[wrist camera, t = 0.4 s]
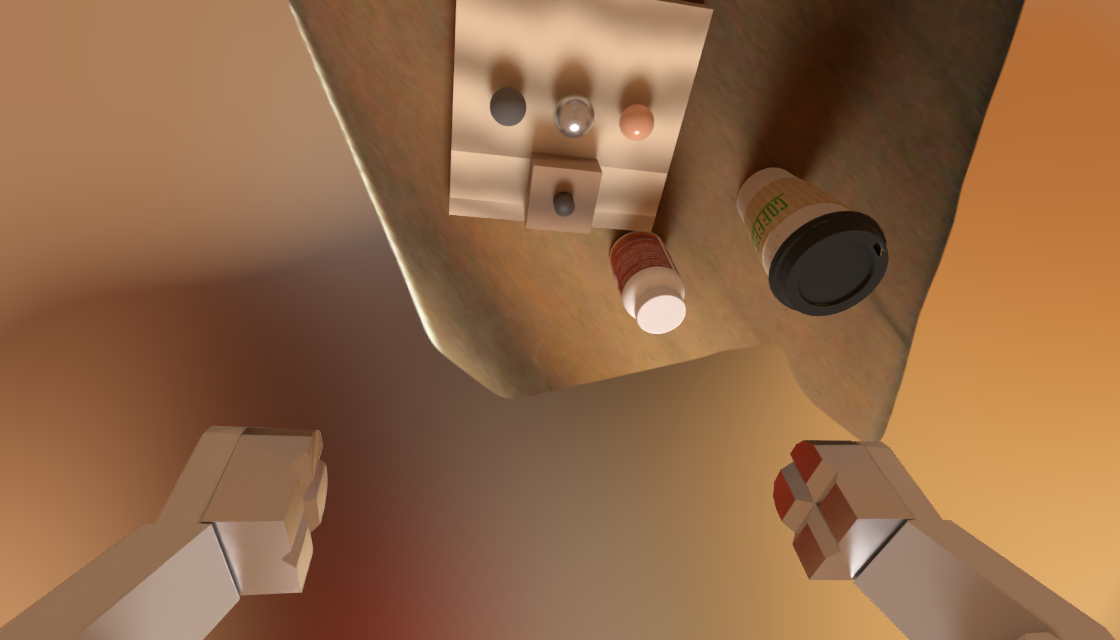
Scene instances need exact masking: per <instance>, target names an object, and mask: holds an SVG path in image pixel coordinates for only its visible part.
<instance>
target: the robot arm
mask: <svg viewBox="0 0 1120 640" xmlns="http://www.w3.org/2000/svg"><path fill="white" fill-rule="evenodd" d="M322 446H323V444H322V439H321V434H320V431H316V430H298V429H276V428H254V427H222V426H211V427H210V428H209V429H208V430H207V431H206V432H205V433H204V434H203V435H202V436H201V438H200V440H199V442H198V444H197V445H196V448H195V449H194V451H193V453H192V455H191V457H190V459H189V461H188V462H187V464H186V466H185V468H184V470H183V472H182V474H181V476H180V477H179V479H178V481H177V483H176V485H175V487H174V489H173V490H172V492H171V494H170V496H169V498H168V500H167V502H166V504H165V505H164V507H163V509H162V511H161V513H160V515H159V517H158V519H157V520H156V522H155V524H142V525H141V526H139V527H138V528H137V529H135V530H134V531H133V532H131V533H130V534H128V535H127V536H126V537H124V538H123V539H122V540H120V541H119V542H117V543H116V544H115V545H113V546H112V547H111V548H109V549H108V550H106V551H105V552H104V553H102V554H101V555H100V556H98V557H97V558H96V559H94V560H93V561H92V562H90V563H89V564H87V565H86V566H85V567H83V568H82V569H80V570H79V571H78V572H77V573H75V574H74V575H72V576H71V577H70V578H68V579H67V580H65V581H64V582H63V583H61V584H60V585H59V586H57V587H56V588H54V589H53V590H52V591H50V592H49V593H48V594H47V595H45V596H44V597H42V598H41V599H39V600H38V601H37V602H35V603H34V604H33V605H31V606H30V607H29V608H27V609H26V610H24V611H23V612H22V613H20V614H19V615H18V616H16V617H15V618H13V619H12V620H11V621H9V622H8V623H7V624H5V625H4V626H2V627H1V628H0V640H203V639H204V638H205V637H206V636H207V634H209V632H210V631H211V630H212V629H213V628H214V627H215V626H216V625H217V624H218V623H219V621H220V620H221V619H222V618H223V617H224V616H225V615H226V614H227V613H228V612H229V610H230V609H231V608H232V607H233V606H234V605H235V604H236V603H237V602H238V600H239V599H240V598H239V595H257V594H275V593H296V592H302V589H303V585H304V582H305V578H306V574H307V570H308V567H309V564H310V560H311V556H312V552H313V546H312V541H311V536H310V533H311V532H312V531H313V530H314V529H315V528H316V527H317V526H318V525H319V524H320V523H321V519H322V515H323V511H324V507H325V499H326V492H327V470H326V464H325V463H324V462H322V461H321V460H320V459H319V457H320V454H321V450H322ZM790 455H791V458H792V460H793V462H792V463H790V464H789V465H787V466H786V467H784V468H783V469H781V470H780V472H779V474H778V476H777V478H776V480H775V481H774V492H773V493H774V494H773V498H774V502H775V506H776V510H777V512H778V514H779V516H780V518H781V521H782V522H783V523H784V524H785V525H787V526H788V527H789V528H790V529H791V530H792V531H794V532H795V534H794V539H793V547H794V549H795V551H796V553H797V555H798V557H799V559H800V561H801V563H802V566H803V568H804V570H805V572H806V574H807V576H808V578H809V580H855V581H854V582H853V583H854V584H855V585H856V586H857V587H858V588H859V589H860V590H861V591H862V592H863V593H864V594H865V595H866V596H867V597H868V598H869V599H870V600H871V601H872V602H873V603H874V604H875V605H876V606H877V607H878V608H879V609H880V610H881V611H882V612H883V613H884V614H885V615H886V616H887V617H888V618H889V619H890V620H891V621H892V622H893V623H894V624H895V625H896V626H897V627H898V628H899V629H900V630H901V631H902V633H904V634H905V635H906V637H907V638H909V640H1115V639H1114V638H1113V636H1112V635H1111V634H1110V633H1109V632H1108V631H1107V629H1106V628H1105V627H1103V626H1102V625H1100V624H1099V623H1098V622H1096V621H1095V620H1093V619H1092V618H1090V617H1089V616H1088V615H1086V614H1085V613H1083V612H1081V611H1080V610H1079V609H1077V608H1076V607H1074V606H1073V605H1072V604H1070V603H1069V602H1067V601H1066V600H1064V599H1063V598H1061V597H1060V596H1059V595H1057V594H1056V593H1054V592H1053V591H1051V590H1050V589H1049V588H1047V587H1046V586H1044V585H1043V584H1041V583H1040V582H1039V581H1037V580H1036V579H1034V578H1033V577H1031V576H1030V575H1028V574H1027V573H1026V572H1024V571H1023V570H1021V569H1020V568H1018V567H1017V566H1015V565H1014V564H1013V563H1011V562H1010V561H1008V560H1007V559H1006V558H1004V557H1003V556H1001V555H1000V554H998V553H997V552H995V551H994V550H993V549H991V548H990V547H988V546H987V545H985V544H984V543H983V542H981V541H980V540H978V539H977V538H975V537H974V536H972V535H971V534H969V533H968V532H967V531H965V530H964V529H962V528H961V527H959V526H958V525H957V524H955V523H953V522H952V521H951V520H942V518H941V517H940V515H939V514H938V513H937V511H936V510H935V509H934V507H933V506H932V505H931V503H930V502H929V500H928V499H927V498H926V496H925V495H924V494H923V492H922V491H921V490H920V488H919V487H918V486H917V484H916V483H915V481H914V480H913V479H912V477H911V476H910V475H909V473H908V472H907V470H906V469H905V468H904V466H903V465H902V464H901V462H900V461H899V459H898V458H897V457H896V455H895V454H894V453H893V451H892V450H891V449H890V448H889V447H888V446H887V445H885V444H884V443H882V442H866V441H854V442H852V441H819V440H816V441H815V440H804V441H801V442H800V443H798V444H796V445H795V447H794V449H793V450H792V452H791V453H790Z"/></svg>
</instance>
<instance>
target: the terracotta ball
mask: <svg viewBox="0 0 1120 640" xmlns="http://www.w3.org/2000/svg"><path fill="white" fill-rule="evenodd" d="M619 127H620V131H621V133H622V134H623V135H624V137H626V138H627V139H629V140H631V141H641V140H643V139H645V138H647V137H648V136H649V135H650V134H651V132H652V130H653V128H654V116H653V113H652V112H651V110H650V109H649V108H648V107H646V106H645V105H642V104H633V105H630V106H629V107H627V108H626V109H625V110H624V111H623V112H622V114H621V116H620V119H619Z"/></svg>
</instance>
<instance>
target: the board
mask: <svg viewBox="0 0 1120 640" xmlns="http://www.w3.org/2000/svg"><path fill="white" fill-rule="evenodd" d="M712 13H713V9H712V8H710V7H708V6H706V5H704V4H699V3H693V2H687V1H681V0H456V28H455V57H454V87H453V116H452V146H451V175H450V205H449V214H450V215H461V216H472V217H484V218H495V219H507V220H518V221H525V217H524V210H525V202H526V193H527V185H528V177H529V169H530V161H531V153H532V152H536V153H545V154H554V155H563V156H573V157H582V158H591V159H597V160H598V162H599V165H600V167H601V170H602V172H603V173H602V178H601V183H600V188H599V192H598V197H597V202H596V207H595V212H594V217H593V221H592V226H591V227H598V228H609V229H621V230H632V231H643V232H651V231H652V227H653V224H654V220H655V217H656V213H657V210H658V206H659V202H660V199H661V195H662V192H663V188H664V185H665V181H666V177H667V174H668V170H669V167H670V163H671V160H672V156H673V152H674V149H675V145H676V142H677V138H678V135H679V131H680V127H681V124H682V120H683V117H684V113H685V110H686V106H687V102H688V99H689V95H690V92H691V88H692V85H693V81H694V78H695V74H696V70H697V67H698V63H699V60H700V56H701V53H702V49H703V45H704V42H705V38H706V35H707V31H708V28H709V24H710V20H711V17H712ZM504 87H510V88H514V89H516V90H518V91H519V92H520V93H521V94H522V95H523V97H524V99H525V102H526V113H525V116H524V118H523V119H522V120H521V122H519V123H518V124H516V125H514V126H503V125H501V124H499V123H498V122H496V121H495V120H494V118H493V117H492V115H491V112H490V100H491V98H492V96H493V94H494V93H495V92H496V91H497V90H499V89H501V88H504ZM572 93H576V94H581V95H583V96H585V97H586V98H588V99H589V101H590V102H591V103H592V105H593V107H594V111H595V121H594V124H593V126H592V128H591V129H590V131H589V132H588V133H587V134H585V135H584V136H582V137H578V138H569V137H566V136H564V135H563V134H561V133H560V132H559V131H558V130H557V128H556V126H555V124H554V120H553V112H554V108H555V106H556V104H557V102H558V101H559V100H560V99H561V98H562V97H564V96H565V95H568V94H572ZM633 104H642V105H645V106H646V107H648V108H649V109H650V110H651V112H652V113H653V116H654V128H653V130H652V132H651V134H650V135H649V136H648V137H647V138H645V139H643V140H641V141H631V140H629V139H627V138H626V137H624V135H623V134H622V133H621V131H620V127H619V119H620V116H621V114H622V112H623V111H624V110H625V109H626V108H627V107H629V106H630V105H633Z"/></svg>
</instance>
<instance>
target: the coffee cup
mask: <svg viewBox="0 0 1120 640" xmlns="http://www.w3.org/2000/svg"><path fill="white" fill-rule="evenodd" d="M736 206H737V210H738V212H739V214H740V216H741V218H742V220H743V222H744V226H745V230H746V232H747V234H748V236H749V238H750V240H751V242H752V245H753V247H754V249H755V251H756V253H757V255H758V257H759V259H760V261H761V264H762V266H763V268H764V270H765V272H766V273H767V275H768V276H769V285H770V289H771V291H772V293H773V295H774V296H775V297H776V298H777V299H778V300H779V301H780V302H781V303H782V304H783V305H785V306H787V307H789V308H790V309H793V310H796V311H799V312H801V313H803V314H807V315H811V316H826V315H831V314H836V313H839V312H841V311H844V310H847V309H848V308H850V307H852V306H854V305H856V304H857V303H859V302H860V301H862V300H863V299H864V298H866V297H867V296H868V295H869V294H870V293H871V292H872V291H873V290H874V289H875V288H876V287H877V285H878V284H879V282H880V281H881V279H882V278H883V276H884V274H885V271H886V269H887V265H888V250H887V247H886V239H885V236H884V233H883V231H882V229H881V228H880V226H879V225H878V224H877V222H876V221H875V220H874V219H872V218H871V217H870V216H868V215H865V214H863V213H860V212H855V211H852V210H851V209H850V208H848V207H847V206H846V205H844V204H843V203H841V202H839V201H838V200H836V199H834V198H833V197H831V196H829V195H828V194H826V193H824V192H823V191H821V190H820V189H818V188H816V187H815V186H813V185H811V184H810V183H808V182H806V181H805V180H802V179H799V178H797V177H796V176H794V175H792V174H791V173H789V172H788V171H786V170H784V169H781V168H767V169H763V170H760V171H758V172H756V173H755V174H753V175H752V176H750V177H749V178H748V179H747V180H746V181H745V182H744V184H743V185H742V186H741V188H740V190H739V192H738V195H737V200H736ZM881 248H882V249H883V250H882V255H881V256H880V252H881Z"/></svg>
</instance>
